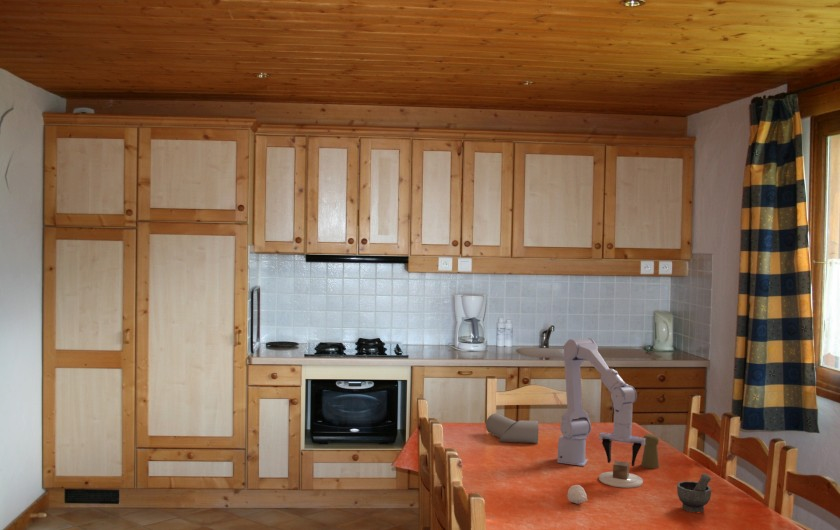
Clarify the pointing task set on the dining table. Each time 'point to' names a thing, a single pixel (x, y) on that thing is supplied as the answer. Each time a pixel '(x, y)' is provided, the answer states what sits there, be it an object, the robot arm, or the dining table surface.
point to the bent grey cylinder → (512, 429)
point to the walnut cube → (621, 470)
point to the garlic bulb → (577, 494)
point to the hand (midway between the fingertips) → (621, 463)
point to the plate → (621, 480)
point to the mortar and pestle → (694, 493)
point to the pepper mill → (650, 452)
